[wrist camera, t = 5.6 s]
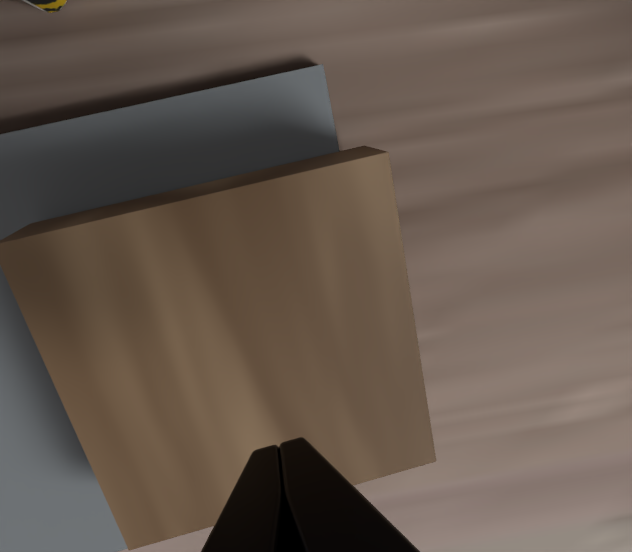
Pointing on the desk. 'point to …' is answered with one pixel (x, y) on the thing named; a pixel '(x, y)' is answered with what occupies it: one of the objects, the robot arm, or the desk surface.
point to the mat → (102, 190)
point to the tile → (228, 333)
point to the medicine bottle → (47, 4)
